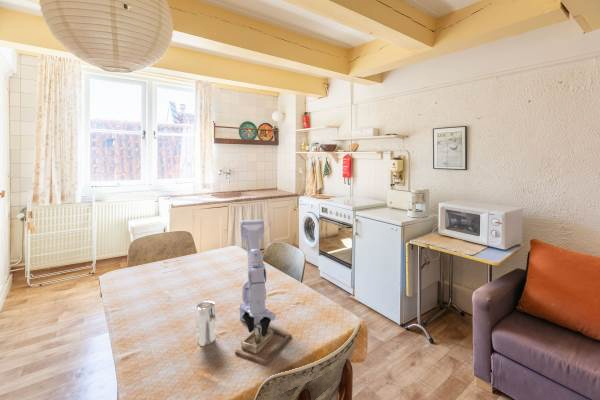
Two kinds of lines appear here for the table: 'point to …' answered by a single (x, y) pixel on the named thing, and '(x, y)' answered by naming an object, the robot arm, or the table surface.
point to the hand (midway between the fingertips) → (257, 333)
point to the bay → (274, 352)
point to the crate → (256, 340)
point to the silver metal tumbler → (206, 322)
